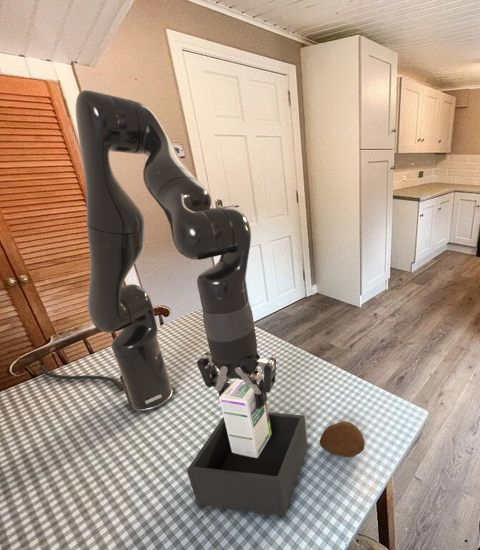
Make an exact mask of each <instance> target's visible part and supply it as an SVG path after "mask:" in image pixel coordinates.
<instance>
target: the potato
mask: <svg viewBox="0 0 480 550" xmlns="http://www.w3.org/2000/svg"><path fill="white" fill-rule="evenodd" d="M365 443H366V442H365V439H364V435H363V433H362V432H361V431H360V429H359V428H358V426H356V425H355V424H353V422H350V421H347V420H344V421H338V422H336V423H333V424H330V425H328V426H327V427H326V428H325V429H324V431H322V434H321V436H320V439H319V445H320V448H322V449H323V450H325V451H326V452H328V453H330V454H332V455H335V456H340V457H343V458H347V459H351V458H354V457H356V456H358V455H360V454H361V453H362V452H364V450H365V447H366V446H365V445H366V444H365Z"/></svg>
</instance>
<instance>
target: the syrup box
mask: <svg viewBox="0 0 480 550" xmlns="http://www.w3.org/2000/svg"><path fill="white" fill-rule="evenodd" d="M257 383H258V382H257ZM258 384H259V383H258ZM254 394H255V392H254V391H253V389H252V388H251V386H247V385H246V383H245V382H244V380H240V379H237V378H235V379H234V380H233V382H232V383H230V386H229V387H228V388H227V389H226V390H225V391H224V392H223V394H222V395H221V396H220V397H219V396H218V400H219V404H220V407H221V412H222V416H224V421H225V425H226V429H227V433H228V437H229V442H230V446H231V450H232V453H236V454H240V455H244V456H249V457H254V458H258V457H259V455H260V453H261V451H262V450H263V448H264V446H265V445H266V443H267V441H268V440H269V438H270V436H271V434H272V432H271V426H270V420H269V413H268V412H269V408H268V400H267V401H266V403H265V405H264V406H262V408H261V409H257V407H256V401H255V395H254Z"/></svg>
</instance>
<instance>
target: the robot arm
mask: <svg viewBox="0 0 480 550" xmlns="http://www.w3.org/2000/svg"><path fill="white" fill-rule="evenodd" d="M75 120H76V127H77V132H78V133H77V135H78V141H79V146H80V154H81V160H82V166H83V172H84V173H83V174H84V181H85V200H86V227H87V228H86V230H87V231H86V232H87V241H88V249H89V250H88V251H89V266H90V267H89V271H90V272H89V286H88V299H87V310H88V314H89V318H90V320H91V322H92V324H93V326H94V327H95V328H96V329H97V330H98V331H100V332H102V333H106V334H113V333H116V332H119V331H120V332H119V333H118V334H117V336H115V338H114V339H113V340H112V341H111V349H112V353H113V355H114V358H115V360H116V363H117V367H118V369H119V371H120V376H119V380H120V382H119V381H117V380H116V379H115V378H112V377H109V376H103V375H102V376H101V375H59V374H55V373H52V372H49V371H48V370H47V368H46V367H45V365H43V364H41V365H40V366H39V370H41V371H42V372H43V374H44V375H45V376H47V377H50V378H53V379H54V378H55V379H61V380H102V381H109V382H111V383H113V384H114V385H115V386H116V388H118V389H119V390H120V391H124V395H125V397H126V399H127V402H128V405H129V406H131V407H132V409H133V410H135V411H137V412H149V411H153V410H155V409H157V408H159V407H161V406H163V405H165V404H166V403H167V402H168V401H169V400H170V399H171V398H172V397H173V395H174V389H173V387H172V385H171V380H170V377H169V374H168V371H167V367H166V363H165V359H164V356H163V352H162V350H161V346H160V342H159V340H158V333H159V329H158V324H157V321H156V316H155V310H154V306H153V303H152V300H151V297H150V296H149V294H148V292H147V291H146V290H145V289H144V288H143V287H142V286H140V285H137V284H134V283H129V284H126V285H124V282H125V280H126V278H127V277H128V275H129V273H130V272H131V270H132V269H133V267H134V265H135V264H136V262H137V261H138V259H139V257H140V256H141V253H142V251H143V249H144V245H145V225H146V223H145V217H144V214H143V212H142V211H141V210H142V209H140V207H139V206H138V205H137V204H136V202H135V201H134V199H133V198H132V197H131V196H130V195H129V193H128V192H127V191H126V190H125V188H124V187H123V186H122V185H121V183H120V181H119V180H118V178H117V177H116V175H115V173H114V172H113V169H112V166H111V161H110V152H116V153H123V154H133V155H141V154H142V155H146V156H147V159H146V161H145V162H144V165H143V169H142V179H143V181H144V185H145V187H146V189H147V191H148V192H149V194H150V195H151V197H152V198H153V199H154V200H155V202H156V203H157V205H158V206H159V207H160V208H161V209H162V210H163V213H164V214H165V216H166V219H167V221H168V225H169V228H170V232H171V237H172V242H173V244H174V246H175V249H176V250H177V252H178V253H179V254H181V255H182V256H183V257H185V258H187V259H190V260H193V261H203V260H206V259H207V260H208V259H211V258H214V257H218V256H220V257H219V260H218V261H217V262H216V264H214V265H212V266H211V267H208V268H207V269H206V270H204V271H202V272H201V273H200V274H199V275H198V277H197V279H196V285H197V291H198V294H199V300H200V305H201V309H202V320H203V321H202V323H203V326H204V331H205V337H206V340H207V345H208V349H209V352H205V353H204V354H203V355H202V356H201V357H200V358H199V359H197V361H196V365H197V367H198V370H199V372H200V375H201V378H202V381H203V383H204V385H205V386H206V387H207V388H210V389H211V388H212V387H213V388H215V390H216V391H217V392H218V398H219V397H220V396H221V395H222V394H223V392H224V391H225V390H226V389H227V388H228V387H229V386H230V385H231V383H230V382H229V381H230V380H235V379H236V378H237V379H240V380H244V382H245V383H246V385H247V386H251V388H252V389H253V391H254V392H255V394H254V395H255V401H256V407H257V409H261V408H262V406H264V405H265V403H266V401H267V402H268V394H267V393H270V392H271V390H272V389H273V387H274V385H275V383H276V377H277V376H276V374H277V359H276V357H273V356H272V357H270V358H269V359H265V358H262V357H261V356H260V354H259V353H258V341H257V335H256V329H255V321H254V315H253V310H252V307H251V304H250V299H249V292H248V285H247V271H248V261H249V256H250V251H251V244H252V230H251V226H250V223H249V220H248V218H247V217H246V215H245V213H244V212H243V211H241V209H239V208H237V207H235V206H230V205H229V206H227V205H226V206H220V207H211V206H212V197H211V194H210V193H209V191H208V190H207V189H206V187H205V186H204V185H203V184H202V183H201V182H200V181H199V179H198V178H197V177H196V176H195V175H194V174H193V172H192V171H190V169H189V168H188V167H187V166H186V165H185V163H184V162H183V161H182V159H181V157H180V155H179V154H178V152H177V150H176V149H175V147H174V144H173V143H172V142H171V139H170V138H169V136H168V134H167V132H166V131H165V129H164V127H163V126H162V124H161V122H160V120H159V119H158V117H157V116H156V115H155V113H154V111H152V110H151V109H150V108H149V107H148V106H147V105H146V104H144V103H143V102H142V103H141V102H139V101H136V100H132V99H129V98H125V97H120V96H115V95H111V94H107V93H103V92H99V91H93V90H87V89H83V90H82V91H80V92H79V93H78V94H77V97H76V102H75ZM217 369H218V370H219V372H218V370H217ZM48 372H49V373H48ZM262 374H263V375H262ZM257 382H258V383H259V384H258V383H257ZM120 383H121V384H120Z"/></svg>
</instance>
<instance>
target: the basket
mask: <svg viewBox="0 0 480 550" xmlns="http://www.w3.org/2000/svg"><path fill="white" fill-rule="evenodd" d="M268 413H269V420H270V426H271V432H272V434H271V436H270V438H269V440H268V441H267V443H266V445H265V446H264V448H263V450H262V451H261V453H260V455H259V457H258V458H254V457H249V456H244V455H240V454H236V453H232V450H231V446H230V442H229V437H228V433H227V429H226V425H225V421H224V416H223V415H222V416H223V417H222V418H221V419H220V421H219V422H218V423H217V425H216V426H215V428H214V429H213V431H212V432H211V434H210V435H209V437H208V438H207V440H206V441H205V443H204V444H203V446H202V447H201V449H200V450H199V451H198V453H196V456H195V457H194V459H193V460H192V461H191V463H190V465H189V466H188V467H187V469H186V473H187V476H188V479H189V483H190V486H191V489H192V493H193V496H194V499H195V502H196V505H197V506H202V507H208V508H209V507H211V508H217V509H225V510H232V511H233V510H234V511H241V512H247V513H257V514H264V515H272V516H277V517H278V516H279V517H286V515H287V512H288V508H289V505H290V503H291V500H292V496H293V494H294V490H295V487H296V485H297V482H298V479H299V475H300V472H301V468H302V465H303V463H304V459H305V456H306V453H307V450H308V437H307V427H306V416H305V415H303V414H293V413H283V412H282V413H281V412H272V411H268Z"/></svg>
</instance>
